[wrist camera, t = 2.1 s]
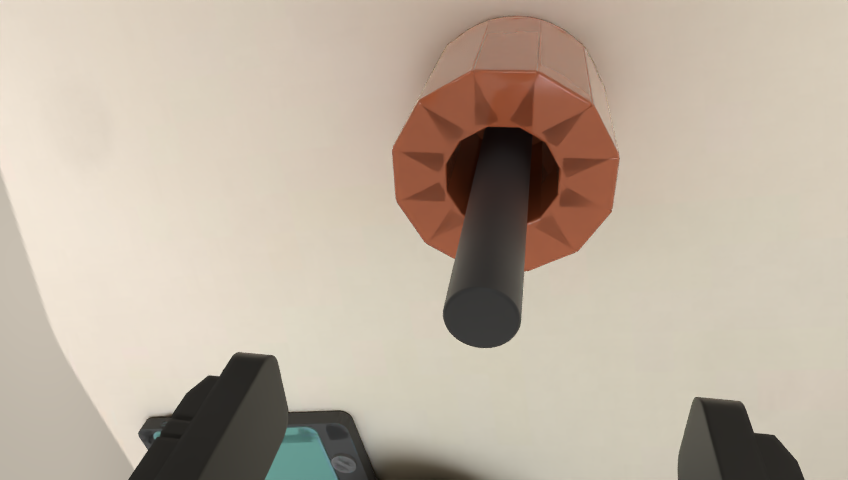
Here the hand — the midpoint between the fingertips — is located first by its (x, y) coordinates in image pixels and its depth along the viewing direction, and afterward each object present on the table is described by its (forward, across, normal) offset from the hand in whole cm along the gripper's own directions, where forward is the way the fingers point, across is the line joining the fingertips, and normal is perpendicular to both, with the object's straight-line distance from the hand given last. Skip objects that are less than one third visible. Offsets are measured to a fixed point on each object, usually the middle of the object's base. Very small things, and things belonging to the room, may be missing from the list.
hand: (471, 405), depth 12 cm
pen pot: (+17, 0, 0) cm, 17 cm away
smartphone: (+17, +16, +24) cm, 34 cm away
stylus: (+16, 0, 0) cm, 16 cm away
